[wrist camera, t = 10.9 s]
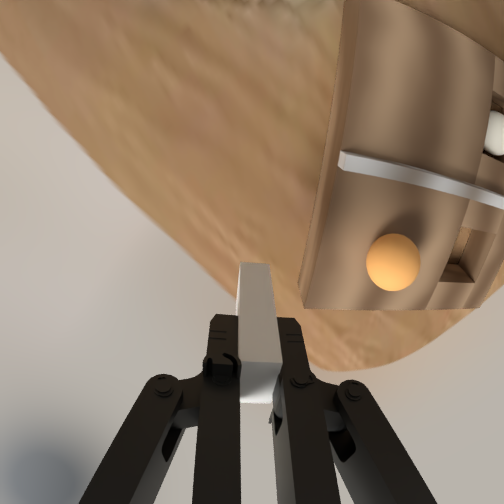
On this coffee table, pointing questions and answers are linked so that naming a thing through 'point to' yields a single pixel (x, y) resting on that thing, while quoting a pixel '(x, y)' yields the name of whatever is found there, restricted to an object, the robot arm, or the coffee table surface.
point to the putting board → (407, 163)
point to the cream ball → (495, 134)
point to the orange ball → (393, 262)
